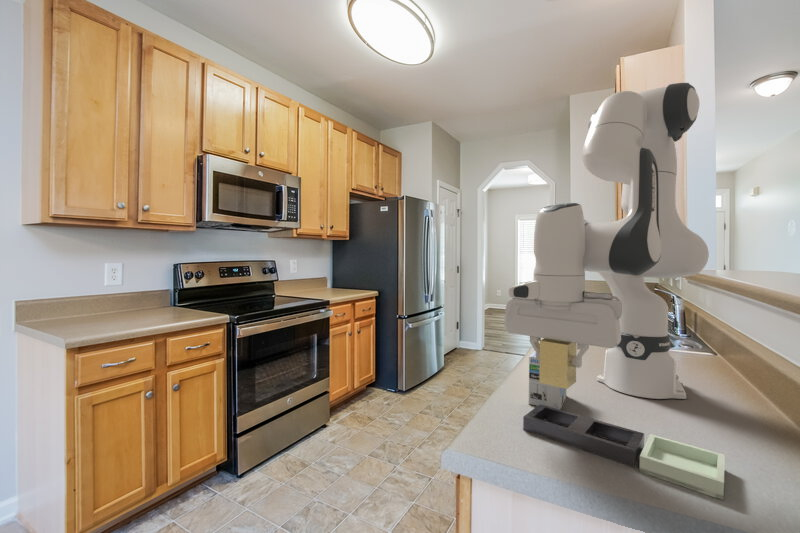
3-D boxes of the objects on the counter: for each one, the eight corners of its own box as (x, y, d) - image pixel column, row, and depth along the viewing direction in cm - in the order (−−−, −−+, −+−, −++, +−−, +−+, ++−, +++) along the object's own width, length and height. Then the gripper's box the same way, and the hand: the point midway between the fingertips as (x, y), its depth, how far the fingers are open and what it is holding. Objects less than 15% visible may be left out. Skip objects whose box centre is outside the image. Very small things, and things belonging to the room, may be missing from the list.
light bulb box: (560, 411, 77) (561, 361, 77) (527, 404, 81) (528, 356, 80) (567, 395, 86) (568, 350, 86) (537, 389, 90) (538, 346, 89)
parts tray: (649, 447, 63) (650, 433, 62) (724, 469, 56) (724, 454, 56) (639, 471, 55) (639, 456, 55) (723, 500, 49) (724, 482, 49)
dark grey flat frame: (539, 416, 75) (539, 404, 74) (644, 447, 62) (644, 433, 62) (523, 429, 69) (523, 416, 69) (635, 467, 57) (635, 451, 56)
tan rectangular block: (549, 375, 72) (549, 335, 72) (575, 381, 69) (576, 339, 68) (539, 382, 68) (539, 340, 68) (567, 389, 65) (567, 345, 65)
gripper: (626, 292, 63) (625, 370, 64) (514, 285, 77) (514, 350, 78) (618, 295, 59) (616, 380, 59) (500, 288, 72) (500, 356, 73)
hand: (557, 363), depth 68 cm, fingers closed on tan rectangular block, 5 cm apart
